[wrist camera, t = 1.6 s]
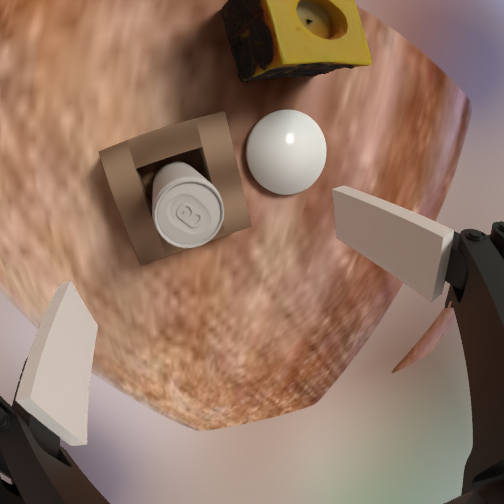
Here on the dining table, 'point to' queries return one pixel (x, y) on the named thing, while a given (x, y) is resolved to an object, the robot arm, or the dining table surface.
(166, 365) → the dining table surface
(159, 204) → the beverage can
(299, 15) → the candle
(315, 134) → the white round domed part
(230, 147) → the socket block
